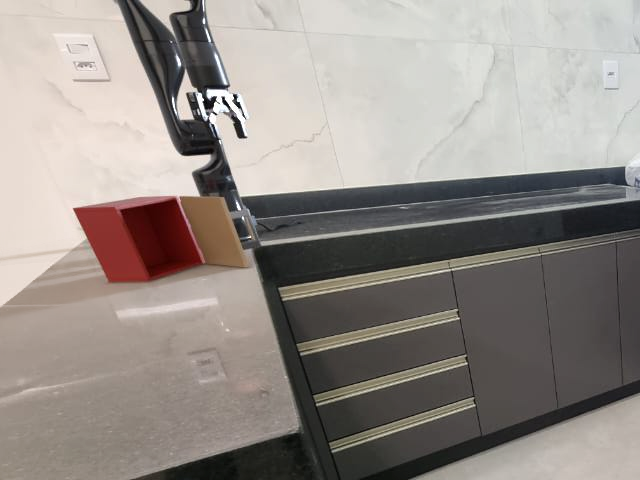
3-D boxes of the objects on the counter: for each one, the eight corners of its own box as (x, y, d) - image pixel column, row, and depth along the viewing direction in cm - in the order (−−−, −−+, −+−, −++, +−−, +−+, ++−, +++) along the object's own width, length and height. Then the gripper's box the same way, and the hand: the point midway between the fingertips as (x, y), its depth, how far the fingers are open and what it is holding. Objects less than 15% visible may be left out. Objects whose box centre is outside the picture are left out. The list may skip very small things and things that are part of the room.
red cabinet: (205, 263, 133) (177, 195, 126) (148, 281, 119) (114, 206, 112) (169, 264, 134) (139, 196, 127) (109, 282, 120) (72, 208, 113)
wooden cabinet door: (233, 256, 138) (208, 192, 131) (272, 260, 133) (249, 193, 126) (205, 263, 133) (178, 196, 126) (245, 267, 127) (219, 197, 120)
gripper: (193, 62, 118) (221, 140, 125) (241, 66, 131) (264, 137, 138) (162, 64, 118) (192, 141, 125) (214, 68, 131) (238, 138, 138)
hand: (230, 139), depth 131 cm, fingers open, 8 cm apart
